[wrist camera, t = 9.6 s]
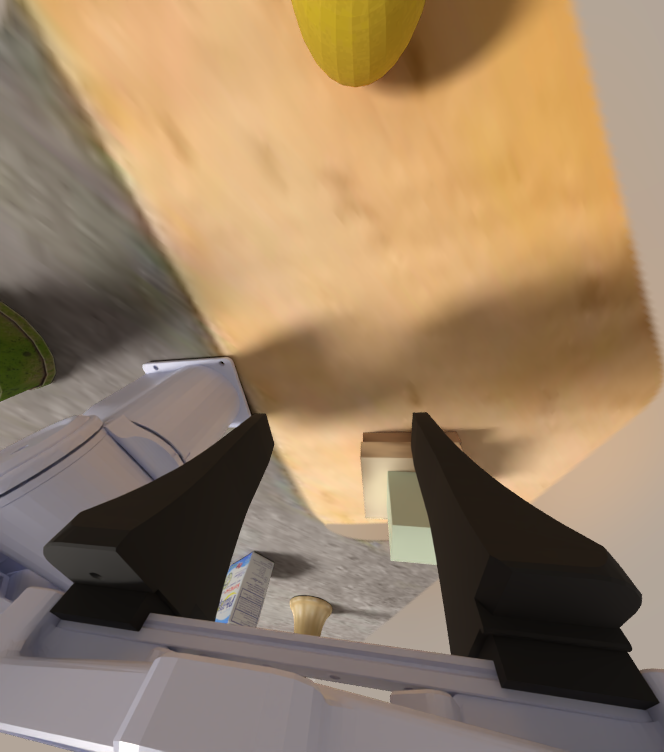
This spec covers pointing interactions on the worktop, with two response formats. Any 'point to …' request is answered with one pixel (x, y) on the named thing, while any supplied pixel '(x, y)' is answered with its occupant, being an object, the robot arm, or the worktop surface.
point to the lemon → (357, 35)
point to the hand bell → (309, 614)
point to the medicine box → (245, 591)
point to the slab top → (382, 472)
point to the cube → (408, 520)
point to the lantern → (22, 356)
